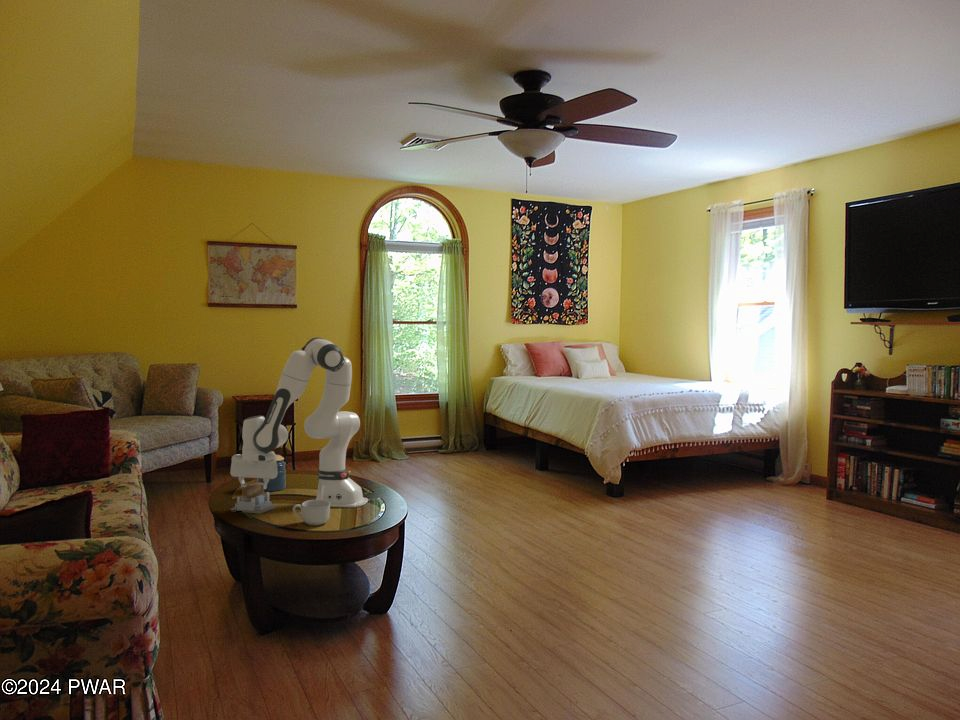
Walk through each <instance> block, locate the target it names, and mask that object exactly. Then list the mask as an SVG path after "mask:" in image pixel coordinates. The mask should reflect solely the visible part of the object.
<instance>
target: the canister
mask: <svg viewBox="0 0 960 720" xmlns="http://www.w3.org/2000/svg"><path fill="white" fill-rule="evenodd" d="M271 453H274V454H276V453H275V451H274V450H273V451H271ZM274 460H275V461H276V462H277V470H278V474H277V477H276V478H274V479H269V482H268V483H267V488H266V489H264V492H278V491H282V490H284V489H286V487H287V482H286V479H287V477H286V476H287V475H286V473H287V472H286V471H287V470H286V465H287V462H286V461H284V460H285V457H284V456H282V455H280V454H276V459H274ZM256 479H257V481H256V482H258V483H264V482H265V481H263V479H262V478H256Z"/></svg>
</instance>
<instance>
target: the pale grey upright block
mask: <svg viewBox="0 0 960 720" xmlns="http://www.w3.org/2000/svg"><path fill="white" fill-rule="evenodd" d="M264 496H265V495H264V494H262V495H260V496H257V497H255V505H262V504H264ZM240 497H241V501H251V499H243V498H242V495H241V496H240Z"/></svg>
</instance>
